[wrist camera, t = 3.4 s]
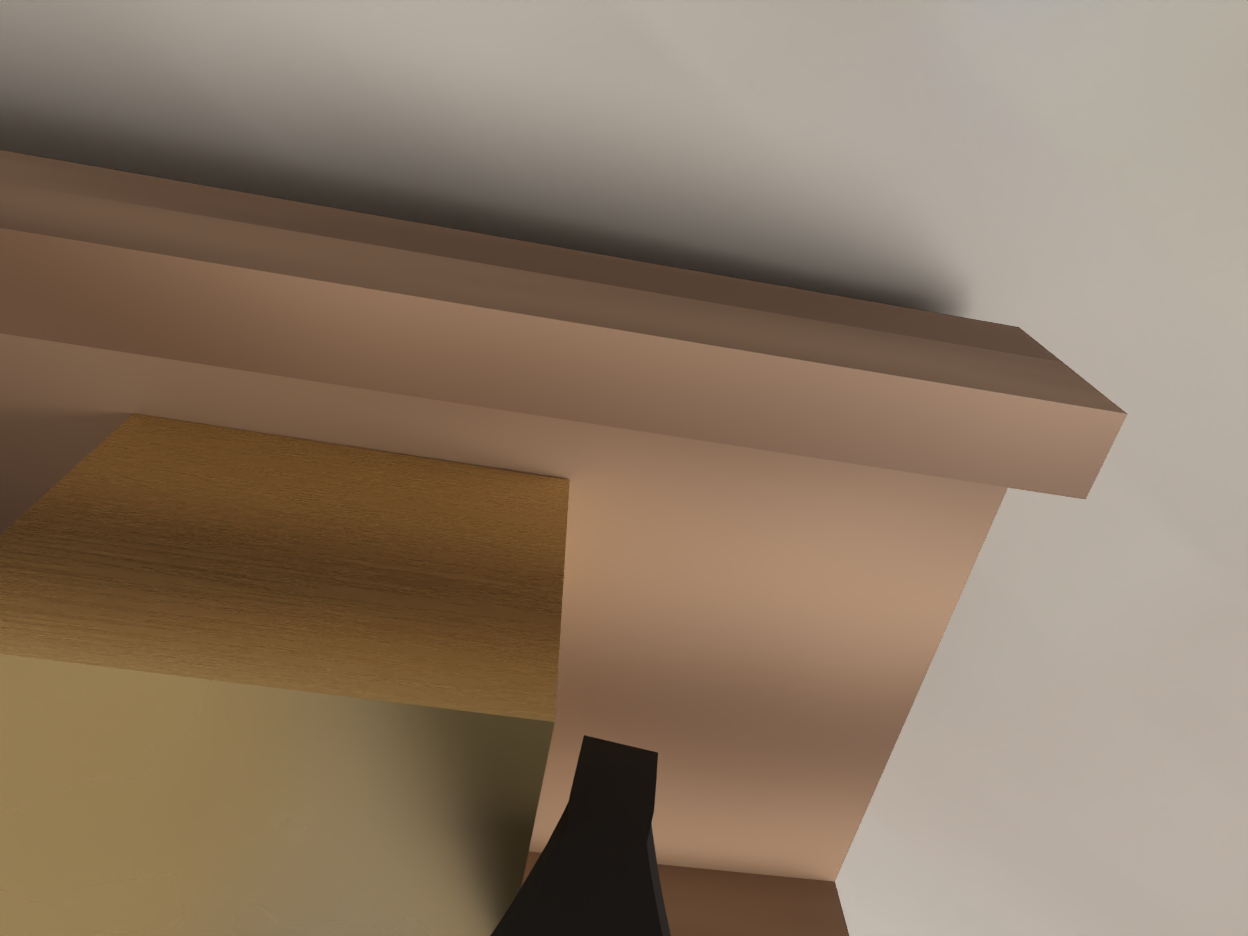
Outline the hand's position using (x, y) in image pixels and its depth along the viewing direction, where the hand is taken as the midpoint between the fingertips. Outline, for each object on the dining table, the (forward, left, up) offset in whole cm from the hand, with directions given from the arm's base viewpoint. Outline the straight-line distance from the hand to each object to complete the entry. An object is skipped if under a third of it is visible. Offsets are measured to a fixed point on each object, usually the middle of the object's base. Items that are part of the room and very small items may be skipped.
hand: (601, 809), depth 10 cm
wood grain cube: (0, +4, -2) cm, 4 cm away
